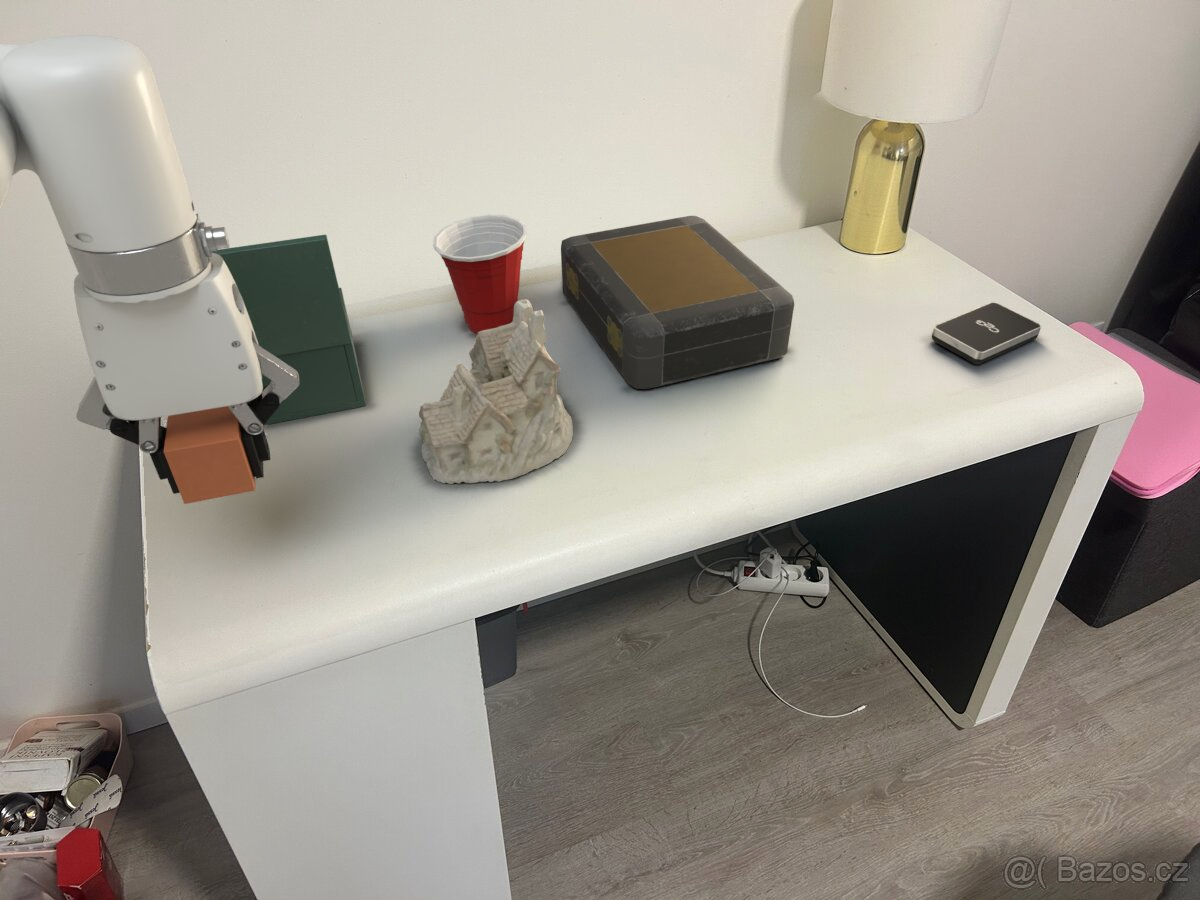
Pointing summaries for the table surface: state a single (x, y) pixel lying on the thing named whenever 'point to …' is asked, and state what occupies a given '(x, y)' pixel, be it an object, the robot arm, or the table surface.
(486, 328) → the plastic cup
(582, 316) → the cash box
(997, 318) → the external hard drive
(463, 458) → the ceramic cottage
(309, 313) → the lid
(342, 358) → the tin
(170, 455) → the block
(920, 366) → the table surface
